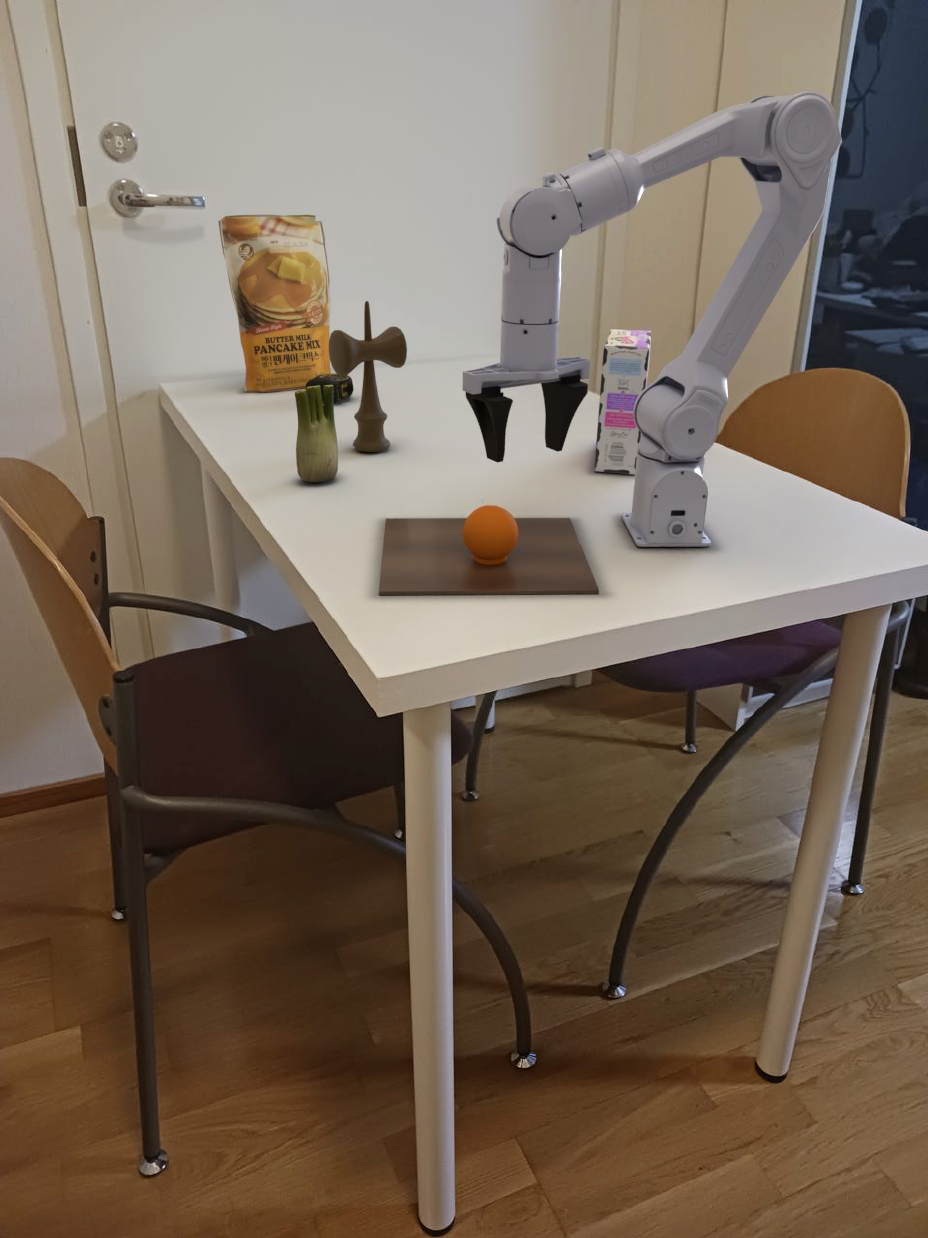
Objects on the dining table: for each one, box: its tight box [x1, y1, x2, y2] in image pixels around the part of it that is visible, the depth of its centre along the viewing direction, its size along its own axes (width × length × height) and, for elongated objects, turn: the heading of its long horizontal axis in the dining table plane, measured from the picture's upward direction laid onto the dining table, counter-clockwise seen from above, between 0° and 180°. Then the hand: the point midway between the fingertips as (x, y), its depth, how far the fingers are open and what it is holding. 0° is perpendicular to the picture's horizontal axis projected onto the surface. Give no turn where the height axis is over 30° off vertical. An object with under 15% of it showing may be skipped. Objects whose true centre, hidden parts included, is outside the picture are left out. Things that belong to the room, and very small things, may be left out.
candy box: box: [594, 328, 652, 476], centre depth 129 cm, size 14×6×16 cm, turn 168°
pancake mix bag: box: [217, 214, 332, 393], centre depth 164 cm, size 7×19×28 cm, turn 120°
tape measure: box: [305, 372, 354, 402], centre depth 161 cm, size 7×7×4 cm
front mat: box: [378, 517, 600, 596], centre depth 101 cm, size 20×21×1 cm
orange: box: [463, 504, 518, 565], centre depth 98 cm, size 6×6×6 cm
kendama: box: [329, 300, 408, 453], centre depth 131 cm, size 6×10×20 cm, turn 123°
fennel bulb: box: [294, 385, 339, 484], centre depth 120 cm, size 6×5×12 cm
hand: (525, 454), depth 101 cm, fingers open, 7 cm apart
